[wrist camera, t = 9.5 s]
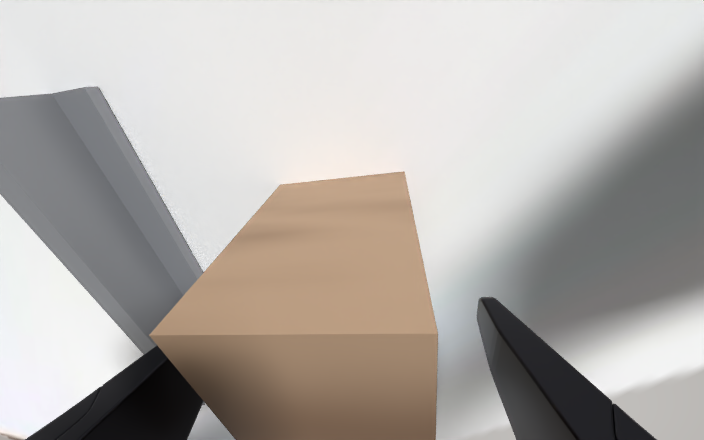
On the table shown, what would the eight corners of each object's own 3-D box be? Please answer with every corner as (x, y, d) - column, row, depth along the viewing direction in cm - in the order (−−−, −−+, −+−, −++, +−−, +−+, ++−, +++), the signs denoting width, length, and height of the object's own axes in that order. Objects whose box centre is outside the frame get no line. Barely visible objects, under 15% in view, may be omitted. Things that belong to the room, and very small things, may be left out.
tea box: (412, 301, 13) (438, 494, 7) (315, 303, 14) (265, 478, 8) (406, 170, 10) (444, 333, 4) (278, 184, 11) (144, 335, 5)
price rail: (40, 97, 10) (-83, 108, 7) (97, 86, 9) (-11, 93, 7) (214, 354, 18) (185, 404, 15) (249, 355, 17) (226, 405, 15)
